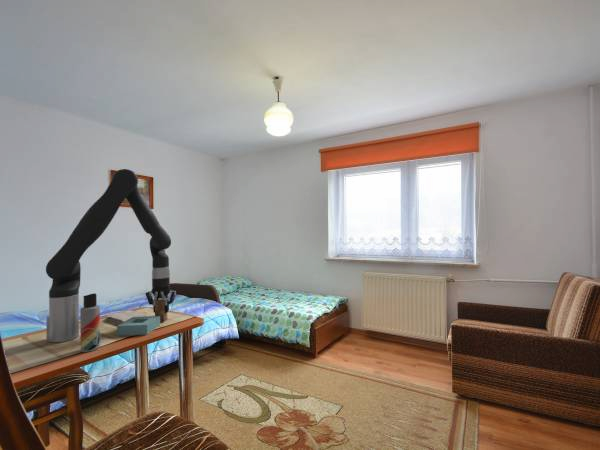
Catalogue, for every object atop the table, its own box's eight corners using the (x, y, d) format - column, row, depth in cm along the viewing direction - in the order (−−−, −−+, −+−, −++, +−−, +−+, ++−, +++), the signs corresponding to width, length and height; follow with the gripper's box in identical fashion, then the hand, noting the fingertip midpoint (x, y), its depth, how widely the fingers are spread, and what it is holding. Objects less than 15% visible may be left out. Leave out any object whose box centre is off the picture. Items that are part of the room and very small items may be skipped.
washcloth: (128, 314, 150) (128, 308, 150) (148, 319, 140) (148, 313, 141) (103, 320, 140) (103, 314, 140) (123, 326, 130) (123, 319, 130)
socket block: (117, 335, 117) (117, 325, 117) (132, 325, 129) (132, 317, 129) (147, 334, 118) (147, 324, 118) (160, 324, 130) (160, 316, 130)
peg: (155, 322, 134) (154, 300, 134) (158, 319, 138) (158, 298, 138) (163, 322, 134) (163, 300, 134) (167, 319, 138) (167, 298, 138)
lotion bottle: (89, 352, 101) (89, 295, 101) (76, 351, 102) (76, 295, 102) (103, 346, 107) (103, 292, 107) (91, 345, 108) (90, 291, 108)
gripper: (141, 278, 132) (141, 316, 132) (173, 277, 133) (173, 314, 133) (149, 275, 140) (149, 311, 139) (179, 275, 140) (179, 310, 140)
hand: (161, 312), depth 136 cm, fingers closed on peg, 4 cm apart
